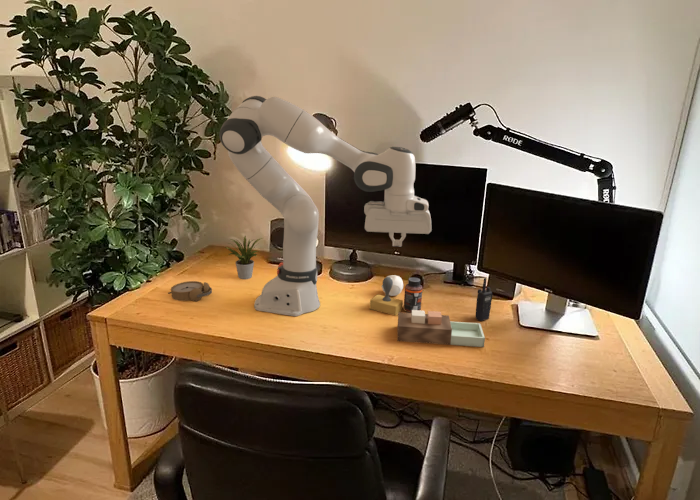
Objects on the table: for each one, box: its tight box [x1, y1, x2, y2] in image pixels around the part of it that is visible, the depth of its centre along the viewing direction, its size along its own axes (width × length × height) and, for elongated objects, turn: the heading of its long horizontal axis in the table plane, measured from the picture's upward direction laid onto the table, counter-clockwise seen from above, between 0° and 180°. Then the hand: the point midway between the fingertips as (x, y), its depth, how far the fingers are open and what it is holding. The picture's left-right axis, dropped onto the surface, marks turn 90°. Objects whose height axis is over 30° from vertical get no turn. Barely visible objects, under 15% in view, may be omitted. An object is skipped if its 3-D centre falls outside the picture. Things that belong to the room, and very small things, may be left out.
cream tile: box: [411, 310, 426, 324], centre depth 166 cm, size 4×4×2 cm
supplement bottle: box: [403, 277, 423, 313], centre depth 184 cm, size 6×6×11 cm
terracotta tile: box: [427, 310, 442, 325], centre depth 166 cm, size 4×4×2 cm
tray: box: [450, 320, 486, 348], centre depth 167 cm, size 10×10×3 cm
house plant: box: [224, 235, 263, 280], centre depth 209 cm, size 14×14×16 cm
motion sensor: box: [381, 274, 404, 297], centre depth 196 cm, size 8×8×8 cm
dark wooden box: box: [396, 311, 452, 346], centre depth 167 cm, size 16×10×5 cm, turn 85°
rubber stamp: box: [369, 276, 404, 316], centre depth 184 cm, size 10×6×12 cm, turn 62°
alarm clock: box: [167, 280, 213, 302], centre depth 191 cm, size 11×5×15 cm
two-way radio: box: [474, 277, 493, 322], centre depth 179 cm, size 6×4×15 cm
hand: (396, 245), depth 166 cm, fingers closed
